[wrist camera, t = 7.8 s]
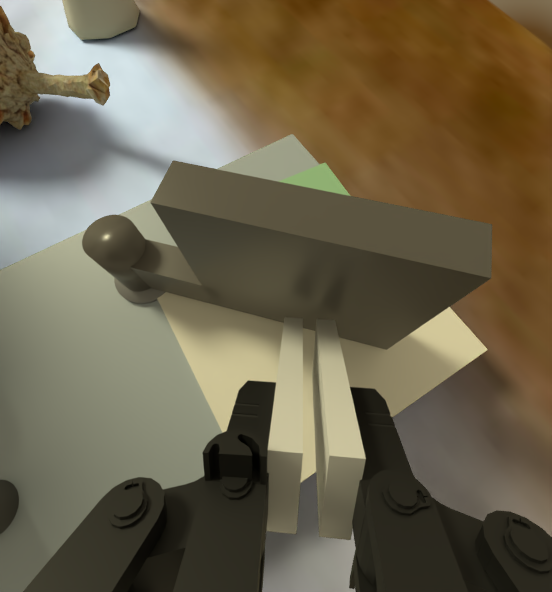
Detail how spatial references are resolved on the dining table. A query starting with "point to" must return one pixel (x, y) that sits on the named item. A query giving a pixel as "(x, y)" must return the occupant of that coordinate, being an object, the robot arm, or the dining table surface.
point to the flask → (100, 17)
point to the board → (153, 376)
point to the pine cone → (37, 79)
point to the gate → (297, 253)
